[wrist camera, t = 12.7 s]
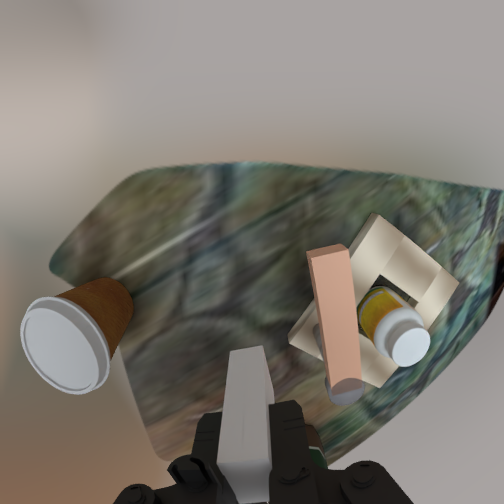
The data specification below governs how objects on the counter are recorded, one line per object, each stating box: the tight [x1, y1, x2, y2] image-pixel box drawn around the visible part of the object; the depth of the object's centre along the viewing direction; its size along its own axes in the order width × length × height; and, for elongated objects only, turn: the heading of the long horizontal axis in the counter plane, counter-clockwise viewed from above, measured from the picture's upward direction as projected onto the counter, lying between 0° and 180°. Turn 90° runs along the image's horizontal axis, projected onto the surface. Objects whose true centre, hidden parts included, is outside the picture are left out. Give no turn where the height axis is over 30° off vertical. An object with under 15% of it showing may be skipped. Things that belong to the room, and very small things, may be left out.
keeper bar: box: [306, 244, 365, 405], centre depth 21 cm, size 12×3×2 cm, turn 13°
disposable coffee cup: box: [21, 277, 134, 394], centre depth 27 cm, size 10×10×12 cm
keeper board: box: [287, 213, 459, 388], centre depth 28 cm, size 16×14×10 cm
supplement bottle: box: [356, 286, 430, 367], centre depth 28 cm, size 5×5×10 cm
